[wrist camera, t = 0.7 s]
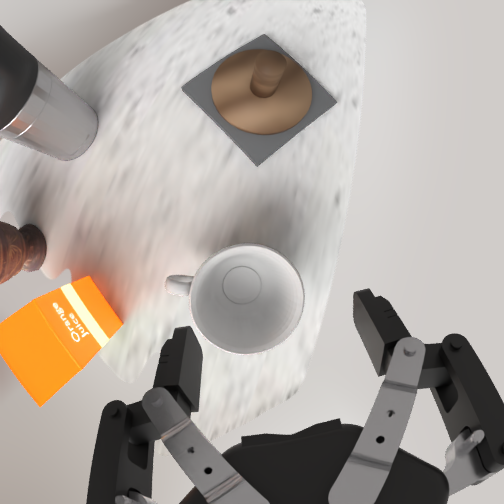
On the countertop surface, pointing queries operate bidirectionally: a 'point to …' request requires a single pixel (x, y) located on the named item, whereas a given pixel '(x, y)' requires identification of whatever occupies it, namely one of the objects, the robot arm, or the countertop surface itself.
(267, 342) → the teacup
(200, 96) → the rubber mat
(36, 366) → the orange juice
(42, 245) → the mortar and pestle
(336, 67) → the countertop surface
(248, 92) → the walnut lid
